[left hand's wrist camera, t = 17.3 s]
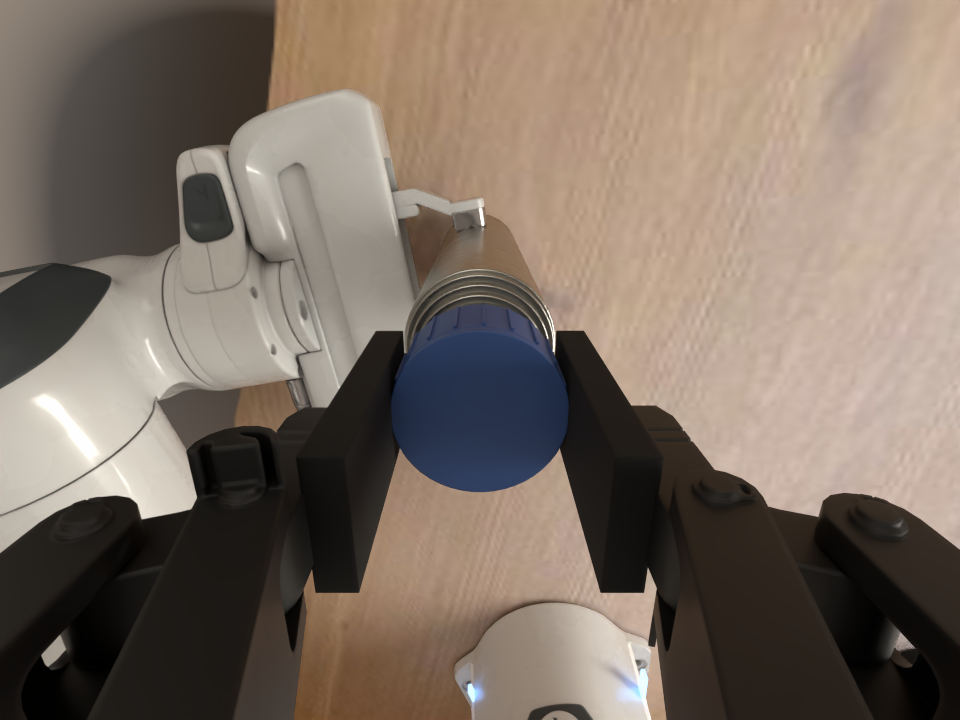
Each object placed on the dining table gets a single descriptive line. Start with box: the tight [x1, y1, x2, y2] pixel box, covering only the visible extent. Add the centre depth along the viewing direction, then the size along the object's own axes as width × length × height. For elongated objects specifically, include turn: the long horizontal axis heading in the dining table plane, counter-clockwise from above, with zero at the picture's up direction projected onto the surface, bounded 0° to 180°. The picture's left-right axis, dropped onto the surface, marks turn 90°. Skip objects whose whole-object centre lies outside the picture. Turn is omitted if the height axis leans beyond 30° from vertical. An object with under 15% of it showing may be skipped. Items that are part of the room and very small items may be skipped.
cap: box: [391, 303, 569, 492], centre depth 13 cm, size 4×4×2 cm
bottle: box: [404, 215, 555, 353], centre depth 24 cm, size 5×5×24 cm
